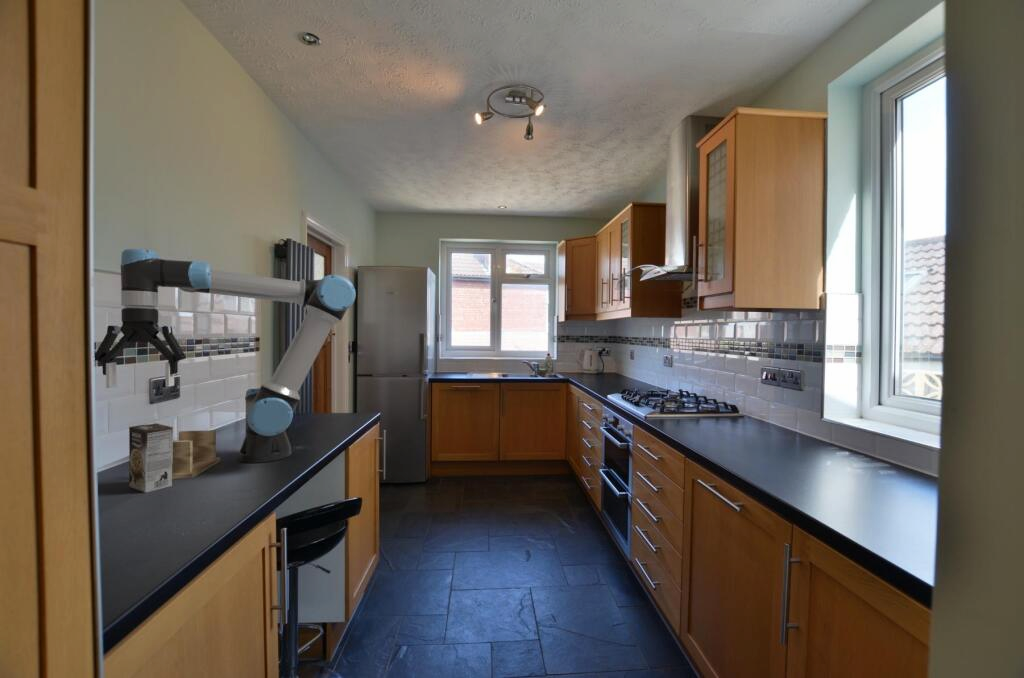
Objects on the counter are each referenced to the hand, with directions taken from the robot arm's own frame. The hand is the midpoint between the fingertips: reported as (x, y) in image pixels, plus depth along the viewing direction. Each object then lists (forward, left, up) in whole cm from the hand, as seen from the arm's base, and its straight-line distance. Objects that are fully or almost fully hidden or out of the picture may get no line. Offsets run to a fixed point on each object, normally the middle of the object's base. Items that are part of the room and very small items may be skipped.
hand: (141, 386), depth 117 cm
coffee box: (-3, +2, -27) cm, 27 cm away
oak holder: (-4, -12, -27) cm, 30 cm away
